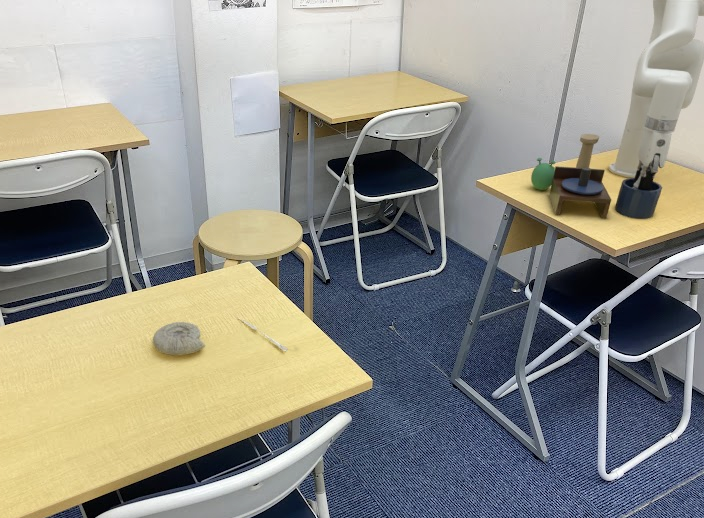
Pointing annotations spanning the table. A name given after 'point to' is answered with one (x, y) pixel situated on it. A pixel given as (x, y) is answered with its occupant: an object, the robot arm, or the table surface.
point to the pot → (637, 200)
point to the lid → (582, 183)
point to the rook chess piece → (640, 177)
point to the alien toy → (543, 175)
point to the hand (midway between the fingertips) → (641, 186)
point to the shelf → (561, 193)
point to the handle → (586, 149)
